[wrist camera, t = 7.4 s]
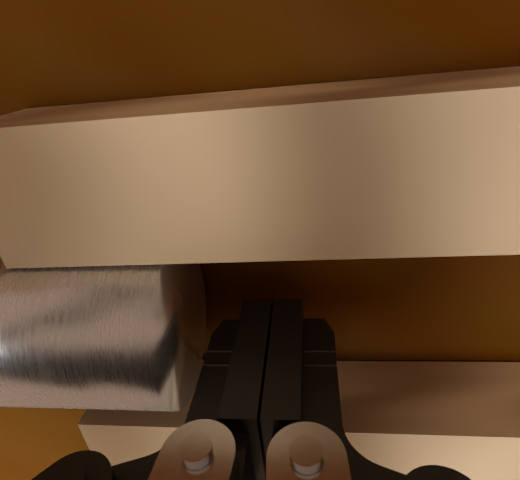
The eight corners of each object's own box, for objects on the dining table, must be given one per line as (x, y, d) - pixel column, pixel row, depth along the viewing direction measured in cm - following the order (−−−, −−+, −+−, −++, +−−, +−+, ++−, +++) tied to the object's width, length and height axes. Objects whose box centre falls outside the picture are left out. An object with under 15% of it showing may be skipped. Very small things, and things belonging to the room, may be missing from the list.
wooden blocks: (800, 41, 7) (1006, 47, 5) (611, 431, 13) (675, 517, 10) (26, 108, 10) (-57, 132, 7) (136, 419, 15) (106, 487, 13)
